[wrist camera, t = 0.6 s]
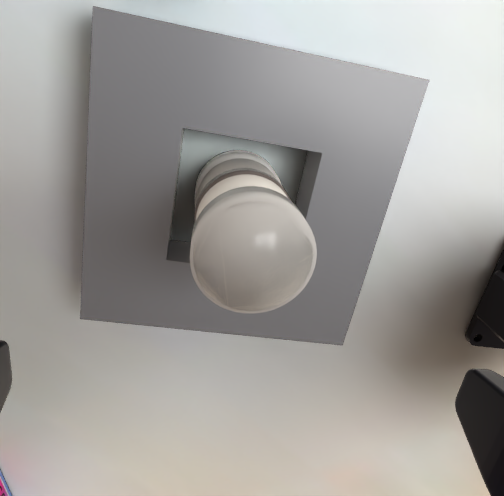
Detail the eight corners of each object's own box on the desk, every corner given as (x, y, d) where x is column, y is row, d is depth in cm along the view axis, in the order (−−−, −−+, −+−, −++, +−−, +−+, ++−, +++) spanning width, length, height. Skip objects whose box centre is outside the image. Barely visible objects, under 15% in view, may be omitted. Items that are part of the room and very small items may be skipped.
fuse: (287, 158, 19) (331, 208, 12) (270, 237, 20) (300, 319, 14) (201, 142, 18) (199, 188, 12) (189, 226, 19) (182, 306, 13)
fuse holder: (403, 78, 18) (429, 79, 16) (330, 319, 22) (342, 345, 20) (107, 13, 16) (92, 5, 14) (92, 293, 20) (80, 319, 18)
